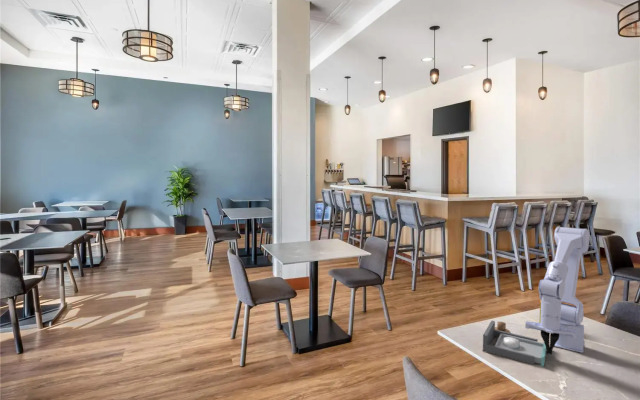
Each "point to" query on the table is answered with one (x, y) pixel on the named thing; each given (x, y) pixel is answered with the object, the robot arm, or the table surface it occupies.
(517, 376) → the table surface
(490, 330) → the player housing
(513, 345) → the white round dome
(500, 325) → the disc stand
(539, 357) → the tray
